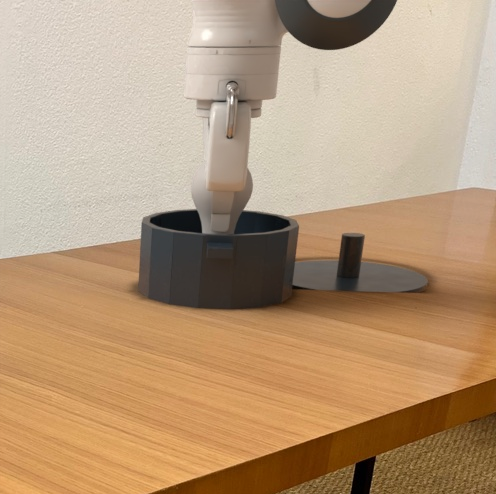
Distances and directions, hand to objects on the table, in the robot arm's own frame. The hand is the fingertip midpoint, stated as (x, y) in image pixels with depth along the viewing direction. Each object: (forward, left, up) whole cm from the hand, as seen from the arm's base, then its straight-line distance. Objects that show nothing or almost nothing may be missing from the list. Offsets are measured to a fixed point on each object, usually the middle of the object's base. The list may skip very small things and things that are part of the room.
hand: (218, 225), depth 107 cm
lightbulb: (0, 0, -4) cm, 4 cm away
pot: (0, 0, -8) cm, 8 cm away
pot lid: (-15, -10, -8) cm, 19 cm away
